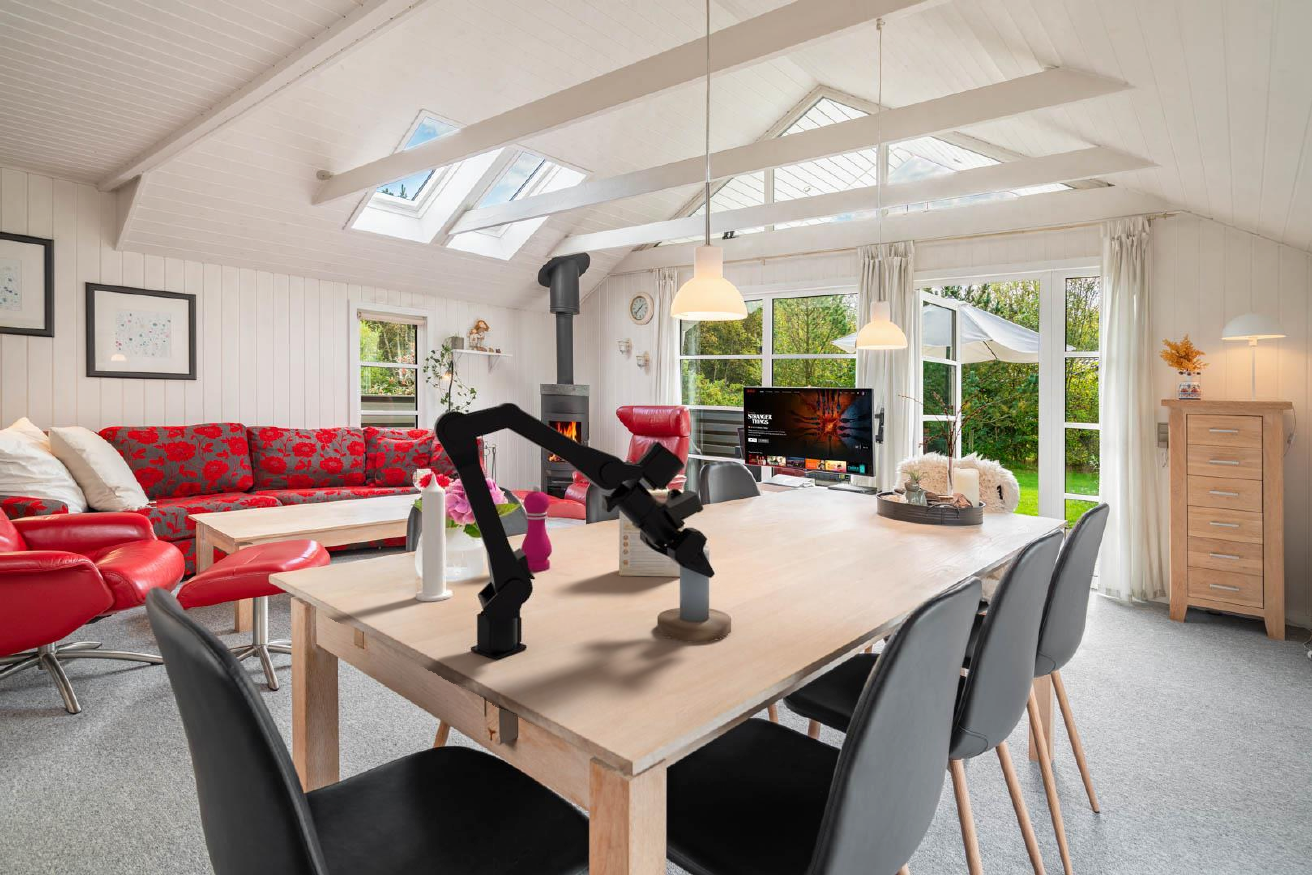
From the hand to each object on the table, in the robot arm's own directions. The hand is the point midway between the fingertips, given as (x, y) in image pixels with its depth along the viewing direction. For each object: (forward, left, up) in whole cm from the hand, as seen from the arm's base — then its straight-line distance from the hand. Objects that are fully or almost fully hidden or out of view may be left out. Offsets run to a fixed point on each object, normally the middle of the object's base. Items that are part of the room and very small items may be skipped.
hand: (701, 569), depth 124 cm
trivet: (-1, +1, -11) cm, 11 cm away
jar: (-1, +1, -8) cm, 9 cm away
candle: (-18, +53, -11) cm, 57 cm away
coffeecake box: (+26, +31, -11) cm, 42 cm away
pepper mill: (+12, +55, -11) cm, 58 cm away
